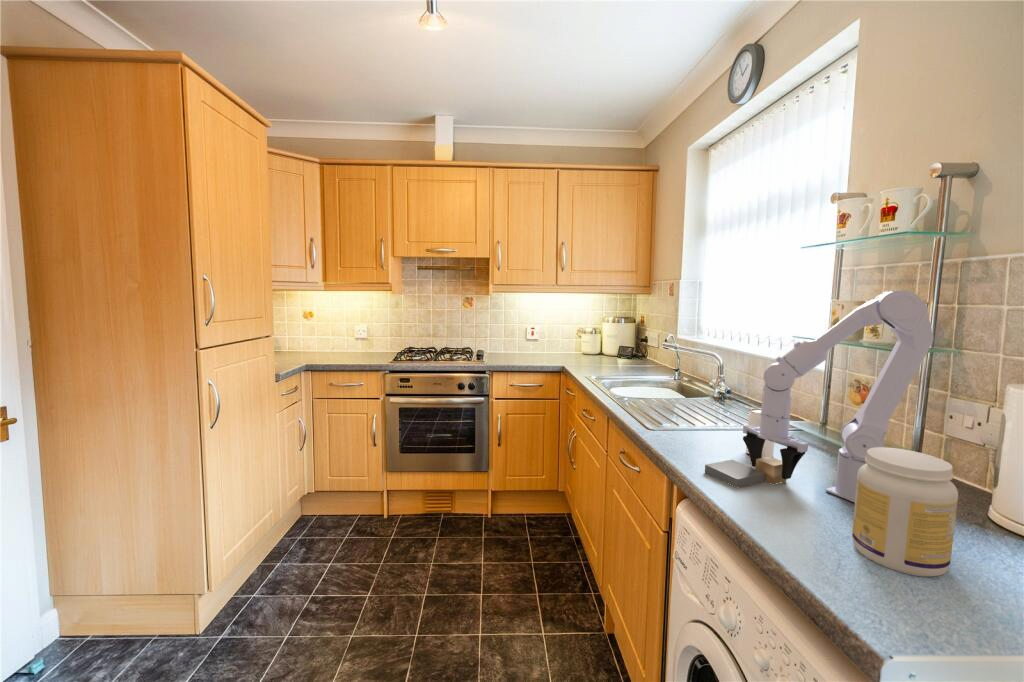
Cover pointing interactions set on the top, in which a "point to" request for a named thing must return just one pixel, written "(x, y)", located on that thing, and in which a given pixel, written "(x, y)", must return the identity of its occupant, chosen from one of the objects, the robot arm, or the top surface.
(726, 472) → the slate base
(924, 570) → the supplement tub
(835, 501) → the top surface
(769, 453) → the can
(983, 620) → the top surface
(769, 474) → the oak block
